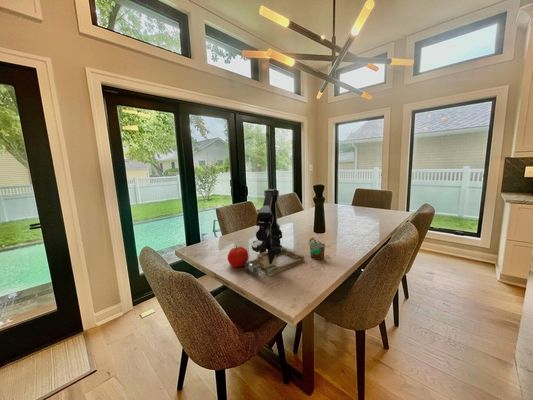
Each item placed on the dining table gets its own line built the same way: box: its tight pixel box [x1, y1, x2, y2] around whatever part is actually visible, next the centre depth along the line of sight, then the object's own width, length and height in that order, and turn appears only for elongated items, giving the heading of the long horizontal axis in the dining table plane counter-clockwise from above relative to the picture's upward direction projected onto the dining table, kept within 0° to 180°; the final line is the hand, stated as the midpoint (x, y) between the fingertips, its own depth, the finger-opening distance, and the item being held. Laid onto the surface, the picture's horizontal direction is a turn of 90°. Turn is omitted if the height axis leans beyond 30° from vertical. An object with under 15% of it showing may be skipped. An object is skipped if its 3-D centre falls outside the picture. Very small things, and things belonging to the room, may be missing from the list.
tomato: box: [227, 245, 249, 268], centre depth 122 cm, size 12×12×10 cm
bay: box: [249, 247, 305, 277], centre depth 124 cm, size 18×26×3 cm
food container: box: [307, 237, 326, 261], centre depth 128 cm, size 12×6×10 cm, turn 21°
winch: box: [244, 259, 261, 278], centre depth 113 cm, size 13×6×6 cm, turn 37°
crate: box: [256, 250, 277, 270], centre depth 119 cm, size 6×8×6 cm
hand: (266, 262), depth 120 cm, fingers closed on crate, 6 cm apart
